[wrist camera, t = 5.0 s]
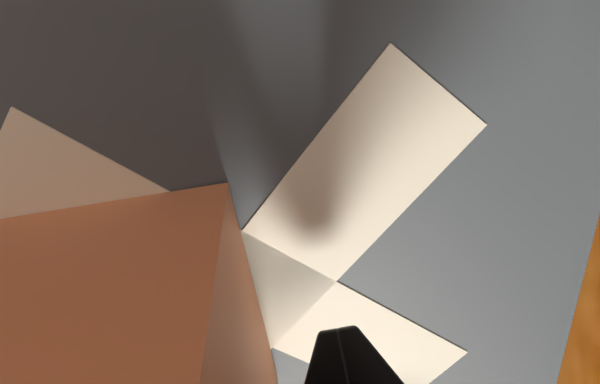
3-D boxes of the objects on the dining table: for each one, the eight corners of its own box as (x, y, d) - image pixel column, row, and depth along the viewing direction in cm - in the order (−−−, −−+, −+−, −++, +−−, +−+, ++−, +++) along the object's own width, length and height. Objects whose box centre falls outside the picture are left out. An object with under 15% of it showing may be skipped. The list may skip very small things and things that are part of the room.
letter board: (666, -129, 7) (690, -133, 6) (541, 402, 14) (549, 414, 13) (-322, 36, 7) (-357, 41, 6) (57, 484, 14) (51, 499, 13)
